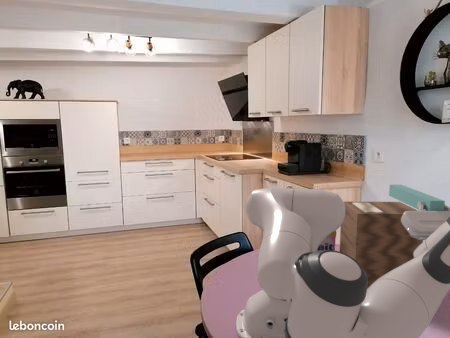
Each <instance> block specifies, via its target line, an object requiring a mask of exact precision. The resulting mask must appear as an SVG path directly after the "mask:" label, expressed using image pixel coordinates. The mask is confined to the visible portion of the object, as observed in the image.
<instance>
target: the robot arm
mask: <svg viewBox="0 0 450 338" xmlns="http://www.w3.org/2000/svg"><path fill="white" fill-rule="evenodd" d="M344 202H345V201H344V200H343V199H342V197H341V196H340V195H339V194H338V193H335V192H332V191H327V190H323V189H316V188H313V189H312V188H288V187H266V188H265V187H263V188H257V189H253V191H251V192H250V193H249V195H248V197H247V199H246V201H245V212H246V213H245V214H246V217H247V219H248V220H249V222H250V223H251V224H252V225H255V226H257V227H258V228H260V230H261V231H263V236H262V240H261V242H260V243H261V244H260V246H259V250H258V254H257V265H256V266H257V267H256V269H257V270H256V274H257V275H256V276H257V281H258V284H259V287H260V289H261V290H259V291H258V292H256V293H255V294H252V295H251V296H249V298H248V299H247V301H246V303H245V306H244V309H242V310H240V312H239V313H238V314H237V317H236V321H235V329H236V330H235V331H236V333H237V336H238V337H239V338H420V336H422V335H423V333H424V332H425V331H426V329H427V328H428V326H430V324H431V321H432V320H433V318H434V317H435V316H436V313H437V312H438V310H439V308H440V306H441V305H442V302H443V301H444V299H445V297H446V296H447V294H448V293H449V291H450V206H448V205H446V204H445V205H444V211H426V210H425V207H426V204H425V202H418V204H417V207H418V208H419V210H418V211H405V212H404V213H403V215H402V217H401V222H402V224H403V226H404V227H405V229H406V230H407V231H408V233H409V235H410V236H411V237H413V238H416V239H417V240H423V242H422V243H421V244H420V245H419V246H418V247H417V248H416V249H415V250H414V252H413V259H412V260H410V261H408V262H406V263H404V264H403V265H401V266H399V267H397V268H395V269H393V270H391V271H390V272H388V273H386V274H385V275H383V276H382V277H380V278H379V279H377V280H376V281H375V282H374V283H373V284H372V285H371V286H370V287H367V285H368V278H367V274H366V272H365V270H364V269H363V268H362V267H361V265H360V264H359V263H358V262H357V261H356V260H355V259H353V258H352V257H350V256H349V255H347V254H345V253H342V252H340V250H339V251H338V250H335V251H334V250H320V251H317V249H318V247H319V245H320V244H321V242H322V241H323V240H324V239H325V238H326V237H327V236H328V235H329V234H331V233H332V232H334V231H335V230H336V231H338V229H339V228H341V225H342V223H343V221H344V219H345V214H346V210H345V205H344Z"/></svg>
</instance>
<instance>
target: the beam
mask: <svg viewBox="0 0 450 338" xmlns="http://www.w3.org/2000/svg"><path fill="white" fill-rule="evenodd" d="M388 196H389V197H390V198H391V197H392V198H393V199H396V200H398V202H401V203H403V204H405V205H407V206H409V207H411V208H414V209H416V210H418V211H419V208H418V207H417V204H418V202H425V204H426V207H425V210H426V211H444V205H446V203H445V202H446V201H445V200H444V199H440V198H438V197H435V196H433V195H430V194H427V193H425V192H422V191H419V190H416V189H414V188H411V187H409V186H406V185H403V184H389V192H388Z"/></svg>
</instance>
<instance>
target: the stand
mask: <svg viewBox="0 0 450 338" xmlns="http://www.w3.org/2000/svg"><path fill="white" fill-rule="evenodd" d="M343 202H344V205H345V210H346V214H345V219H344V221H343V223H342V225H341V226H340V231H339V232H340V235H339V252H342V253H345V254H347V255H349V256H350V257H352V258H353V259H355V260H356V261H357V262H358V263H359V264H360V265H361V267H362V268H363V269H364V270H365V272H366V274H367V278H368V285H367V288H369V287H370V286H371V285H372V284H373V283H374V282H375V281H376V280H377V279H379V278H380V277H382V276H383V275H385V274H386V273H388V272H390V271H391V270H393V269H395V268H397V267H399V266H401V265H403V264H404V263H406V262H408V261H410V260H412V259H413V252H414V250H415V249H416V248H417V247H418V246H419V245H420V244H421V243H422V242H424V240H417V239H416V238H413V237H411V236H410V235H409V233H408V231H407V230H406V229H405V227H404V226H403V224H402V222H401V217H402V215H403V213H404V212H405V211H419V210H418V209H416V208H414V207H412V206H410V205H408V204H406V203H404V202H401V201H343Z"/></svg>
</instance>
